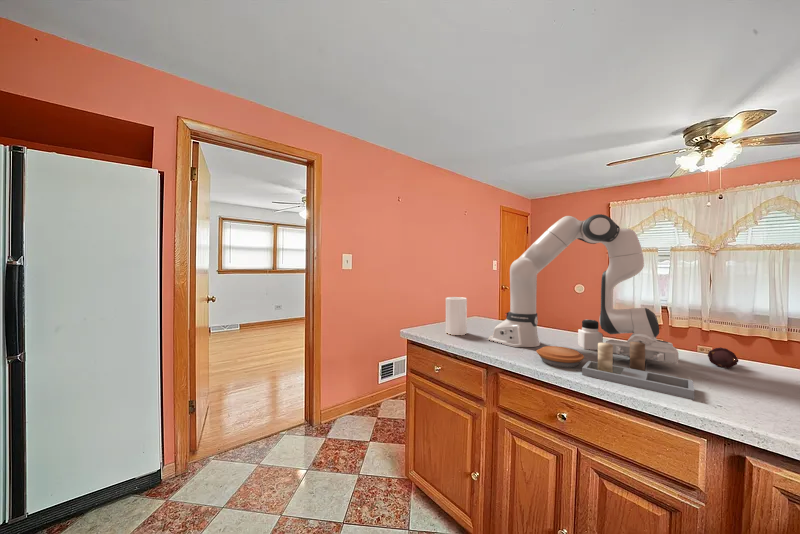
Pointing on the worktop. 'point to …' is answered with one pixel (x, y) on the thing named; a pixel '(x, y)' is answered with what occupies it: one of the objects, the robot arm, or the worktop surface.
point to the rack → (642, 379)
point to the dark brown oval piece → (722, 357)
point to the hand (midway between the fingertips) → (637, 355)
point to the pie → (560, 356)
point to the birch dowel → (605, 357)
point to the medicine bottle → (589, 335)
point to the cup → (456, 315)
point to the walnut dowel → (637, 356)
